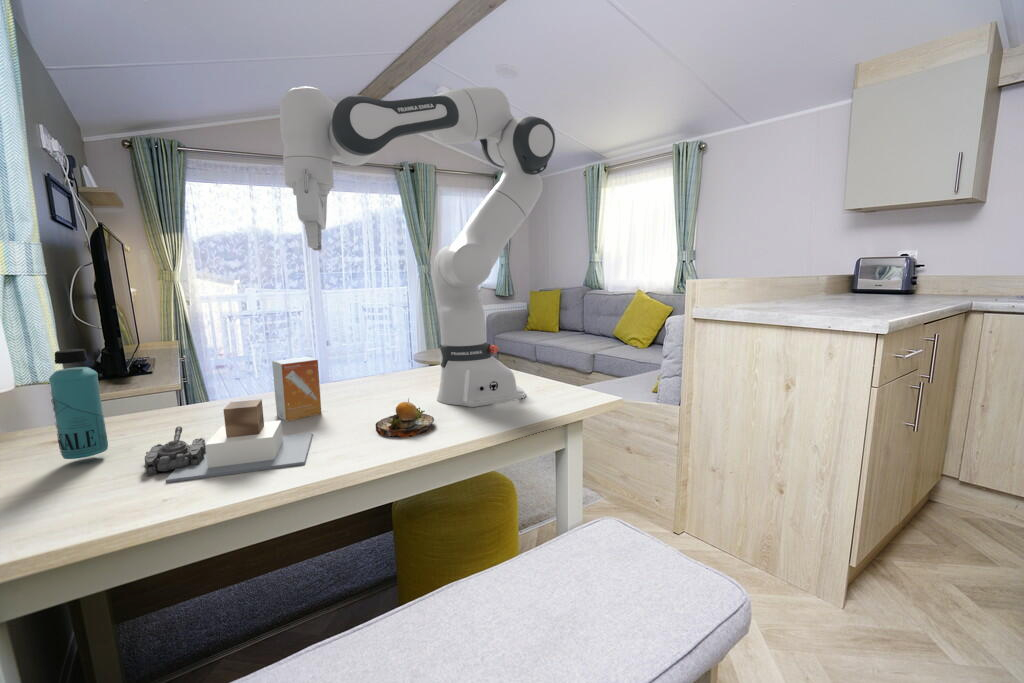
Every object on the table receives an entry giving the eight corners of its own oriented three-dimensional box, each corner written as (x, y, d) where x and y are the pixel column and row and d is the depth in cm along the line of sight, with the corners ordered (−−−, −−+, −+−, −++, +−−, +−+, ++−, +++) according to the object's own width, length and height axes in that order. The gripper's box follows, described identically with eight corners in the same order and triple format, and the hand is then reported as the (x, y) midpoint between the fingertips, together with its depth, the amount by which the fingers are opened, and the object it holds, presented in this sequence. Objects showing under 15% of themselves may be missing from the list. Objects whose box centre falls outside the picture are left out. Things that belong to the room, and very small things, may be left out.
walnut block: (264, 425, 87) (261, 399, 86) (259, 434, 82) (256, 406, 81) (233, 428, 85) (230, 402, 84) (226, 437, 80) (223, 409, 80)
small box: (286, 422, 103) (280, 364, 102) (276, 416, 108) (271, 360, 106) (322, 414, 109) (318, 358, 107) (312, 409, 114) (307, 355, 112)
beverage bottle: (102, 451, 88) (86, 345, 85) (117, 457, 84) (101, 347, 82) (55, 463, 82) (36, 350, 79) (70, 471, 79) (51, 353, 76)
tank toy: (151, 457, 85) (147, 430, 85) (212, 447, 90) (209, 421, 89) (137, 482, 75) (133, 451, 74) (207, 469, 80) (204, 439, 79)
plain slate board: (312, 434, 95) (312, 432, 95) (304, 464, 80) (304, 461, 80) (197, 448, 89) (197, 445, 88) (165, 482, 73) (165, 479, 73)
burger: (433, 418, 105) (432, 385, 104) (436, 436, 93) (434, 399, 92) (377, 423, 102) (375, 389, 101) (373, 441, 91) (371, 404, 90)
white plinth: (283, 440, 90) (281, 420, 90) (274, 459, 81) (272, 437, 80) (223, 447, 87) (221, 426, 87) (207, 467, 78) (205, 444, 77)
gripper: (323, 166, 83) (329, 245, 85) (329, 187, 103) (334, 251, 105) (284, 164, 81) (291, 245, 83) (297, 186, 101) (303, 251, 103)
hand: (315, 249), depth 94 cm, fingers open, 8 cm apart
